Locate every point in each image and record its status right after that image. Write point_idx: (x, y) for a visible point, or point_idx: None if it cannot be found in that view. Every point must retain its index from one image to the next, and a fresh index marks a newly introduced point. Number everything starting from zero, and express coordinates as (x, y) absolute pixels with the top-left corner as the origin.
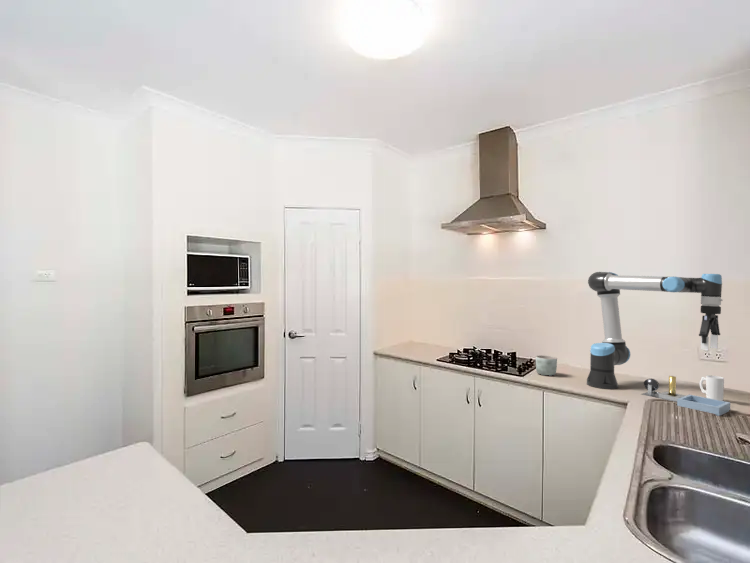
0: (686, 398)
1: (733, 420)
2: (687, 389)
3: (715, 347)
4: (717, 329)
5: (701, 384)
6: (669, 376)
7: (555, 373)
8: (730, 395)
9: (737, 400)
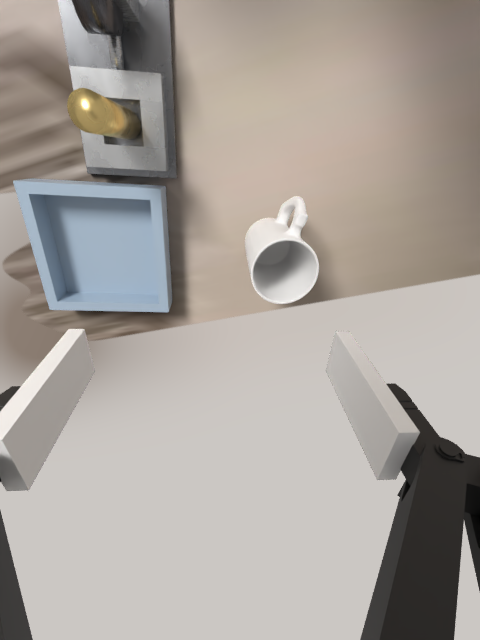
0: (90, 196)
1: (56, 329)
2: (425, 104)
3: (330, 366)
4: (477, 556)
5: (293, 205)
6: (70, 96)
7: None
8: (420, 253)
9: (348, 283)
